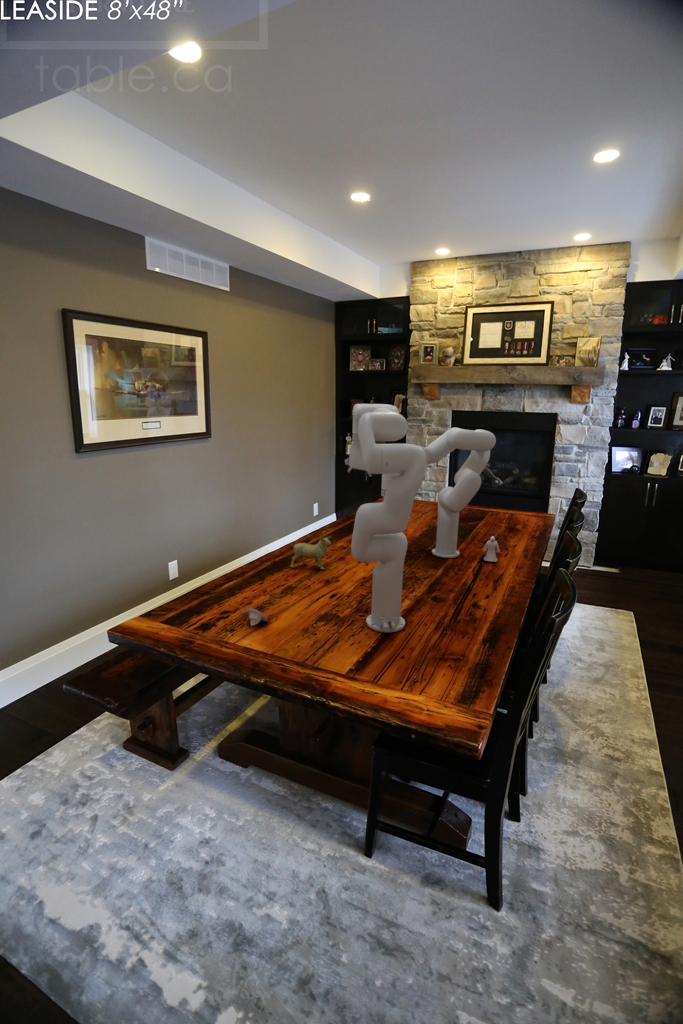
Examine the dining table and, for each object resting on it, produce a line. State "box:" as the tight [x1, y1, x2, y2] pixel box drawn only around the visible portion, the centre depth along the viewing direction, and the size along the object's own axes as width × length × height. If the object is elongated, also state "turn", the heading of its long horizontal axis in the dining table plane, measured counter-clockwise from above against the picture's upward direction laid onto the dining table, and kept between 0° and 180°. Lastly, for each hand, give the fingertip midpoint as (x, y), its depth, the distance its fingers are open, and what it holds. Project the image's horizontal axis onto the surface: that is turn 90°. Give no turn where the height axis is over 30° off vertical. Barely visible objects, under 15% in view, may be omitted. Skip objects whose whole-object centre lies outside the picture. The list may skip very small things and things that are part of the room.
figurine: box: [482, 535, 501, 563], centre depth 223 cm, size 8×8×12 cm
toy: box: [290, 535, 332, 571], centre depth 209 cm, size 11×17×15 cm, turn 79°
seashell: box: [245, 607, 269, 627], centre depth 160 cm, size 8×5×8 cm
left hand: (361, 484), depth 186 cm, fingers open, 9 cm apart
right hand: (387, 530), depth 229 cm, fingers closed on tin, 5 cm apart
